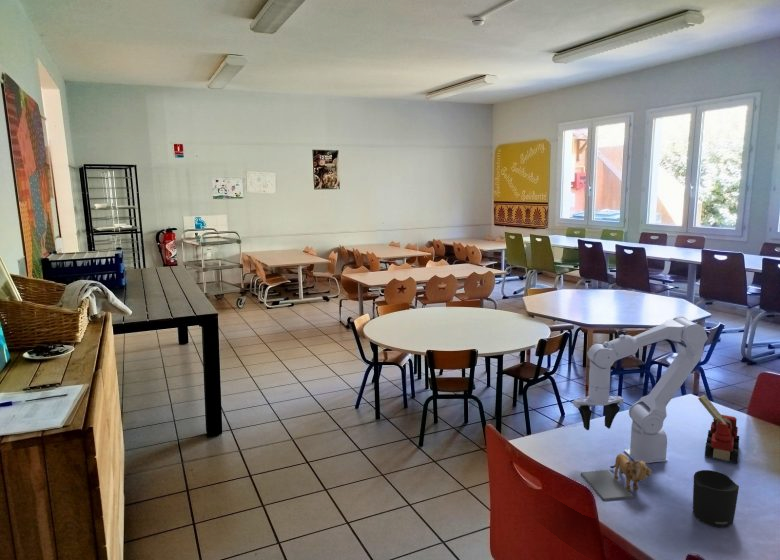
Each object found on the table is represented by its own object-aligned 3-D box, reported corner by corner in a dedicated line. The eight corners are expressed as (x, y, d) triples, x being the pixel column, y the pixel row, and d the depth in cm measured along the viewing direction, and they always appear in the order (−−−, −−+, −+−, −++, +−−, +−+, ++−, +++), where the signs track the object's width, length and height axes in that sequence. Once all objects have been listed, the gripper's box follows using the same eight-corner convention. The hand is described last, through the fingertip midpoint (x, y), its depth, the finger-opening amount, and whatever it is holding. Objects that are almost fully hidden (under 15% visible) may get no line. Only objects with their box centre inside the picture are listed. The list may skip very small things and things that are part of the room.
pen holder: (686, 518, 132) (689, 481, 131) (696, 501, 139) (699, 466, 137) (730, 534, 126) (734, 495, 124) (738, 515, 133) (742, 478, 131)
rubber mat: (607, 471, 154) (607, 469, 154) (632, 497, 141) (632, 495, 141) (580, 474, 153) (580, 472, 153) (603, 500, 140) (603, 498, 140)
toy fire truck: (739, 445, 168) (744, 391, 165) (737, 467, 155) (742, 409, 152) (697, 436, 174) (702, 384, 171) (692, 456, 162) (697, 401, 158)
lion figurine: (653, 495, 142) (655, 464, 141) (635, 498, 141) (637, 467, 139) (617, 467, 156) (619, 438, 155) (601, 470, 155) (603, 441, 154)
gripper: (615, 378, 163) (612, 420, 165) (569, 381, 161) (567, 423, 164) (628, 387, 156) (625, 430, 159) (580, 390, 155) (578, 434, 157)
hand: (596, 427), depth 161 cm, fingers open, 6 cm apart
